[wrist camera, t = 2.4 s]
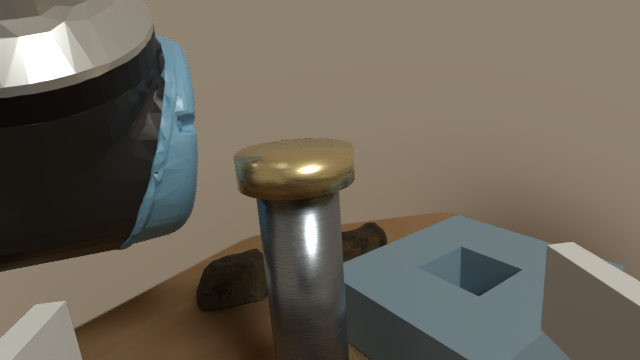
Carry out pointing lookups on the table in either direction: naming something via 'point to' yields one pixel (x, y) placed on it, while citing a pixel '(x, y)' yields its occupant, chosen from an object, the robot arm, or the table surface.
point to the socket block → (451, 296)
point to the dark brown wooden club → (249, 270)
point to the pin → (301, 240)
